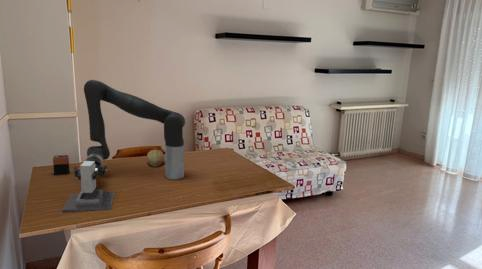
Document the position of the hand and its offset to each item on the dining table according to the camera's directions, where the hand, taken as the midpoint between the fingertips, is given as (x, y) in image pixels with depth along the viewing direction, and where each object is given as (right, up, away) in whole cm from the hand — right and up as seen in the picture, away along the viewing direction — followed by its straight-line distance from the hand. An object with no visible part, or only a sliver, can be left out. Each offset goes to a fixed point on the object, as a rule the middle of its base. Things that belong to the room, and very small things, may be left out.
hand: (87, 177), depth 141 cm
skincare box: (-1, -6, +4) cm, 7 cm away
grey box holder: (-1, -11, +5) cm, 12 cm away
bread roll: (+14, +1, +58) cm, 60 cm away
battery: (-29, -3, +36) cm, 46 cm away
